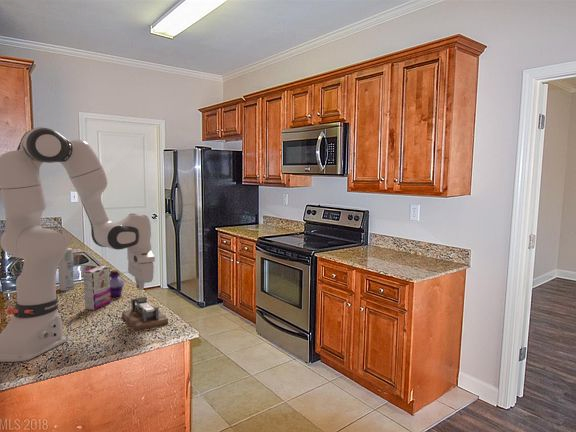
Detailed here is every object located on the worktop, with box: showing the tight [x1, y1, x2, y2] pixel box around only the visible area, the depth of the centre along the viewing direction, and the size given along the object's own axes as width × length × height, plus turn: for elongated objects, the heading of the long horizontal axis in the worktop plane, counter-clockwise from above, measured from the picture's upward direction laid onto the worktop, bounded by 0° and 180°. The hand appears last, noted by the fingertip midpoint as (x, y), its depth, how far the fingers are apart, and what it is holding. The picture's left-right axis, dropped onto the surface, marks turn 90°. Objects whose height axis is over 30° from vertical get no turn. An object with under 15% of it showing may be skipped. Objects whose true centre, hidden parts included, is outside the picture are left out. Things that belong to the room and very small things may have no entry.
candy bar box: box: [82, 265, 112, 311], centre depth 167 cm, size 11×5×16 cm, turn 168°
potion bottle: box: [110, 270, 125, 299], centre depth 181 cm, size 9×9×12 cm
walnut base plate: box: [121, 305, 169, 332], centre depth 152 cm, size 18×12×2 cm, turn 38°
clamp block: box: [130, 296, 160, 323], centre depth 151 cm, size 16×6×5 cm, turn 38°
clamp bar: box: [134, 296, 154, 313], centre depth 151 cm, size 14×3×1 cm, turn 38°
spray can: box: [57, 247, 75, 292], centre depth 191 cm, size 6×6×20 cm
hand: (140, 288), depth 154 cm, fingers closed
